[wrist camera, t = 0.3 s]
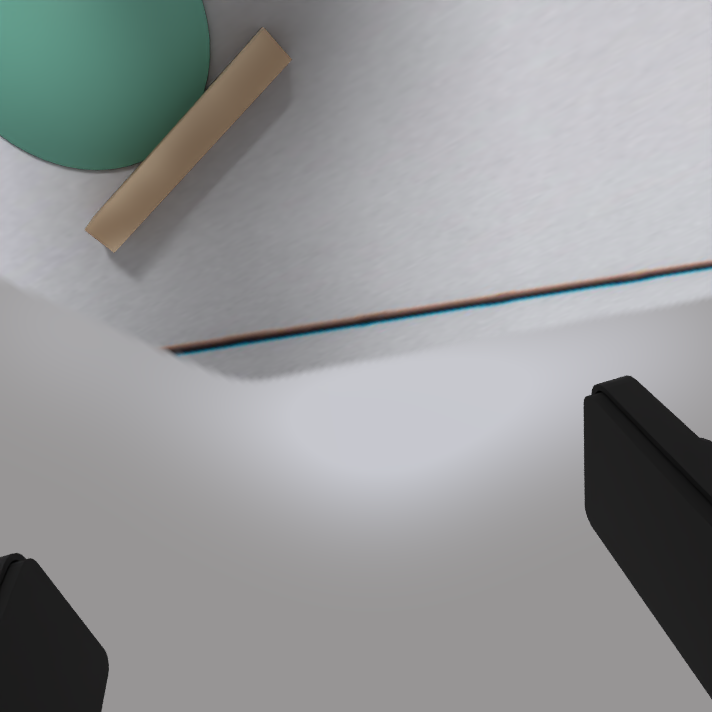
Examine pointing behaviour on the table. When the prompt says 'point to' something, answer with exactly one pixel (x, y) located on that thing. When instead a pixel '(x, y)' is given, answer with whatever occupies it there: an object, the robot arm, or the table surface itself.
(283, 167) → the table surface
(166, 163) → the wall
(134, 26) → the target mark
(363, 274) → the table surface
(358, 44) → the table surface
